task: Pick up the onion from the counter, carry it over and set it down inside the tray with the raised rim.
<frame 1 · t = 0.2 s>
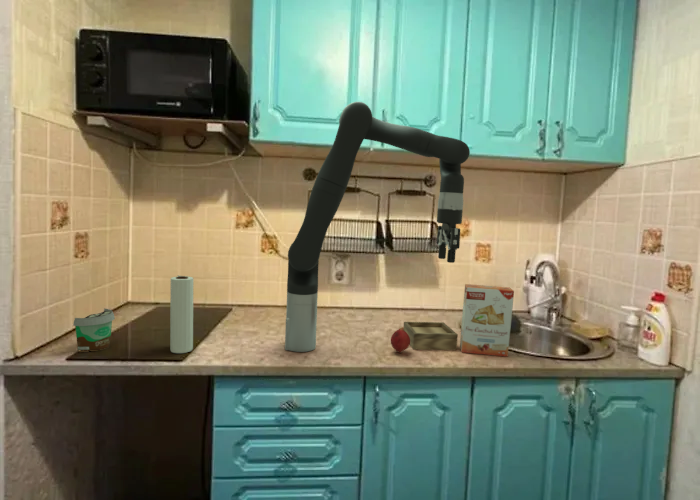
hand: (446, 260, 134), 28 cm above the worktop, tool pointing down, fingers open, 8 cm apart
cracker box: (483, 352, 135), on the worktop
onion: (399, 353, 131), on the worktop
food container: (100, 348, 124), on the worktop
tray: (428, 342, 142), on the worktop
paper towel roll: (182, 350, 125), on the worktop
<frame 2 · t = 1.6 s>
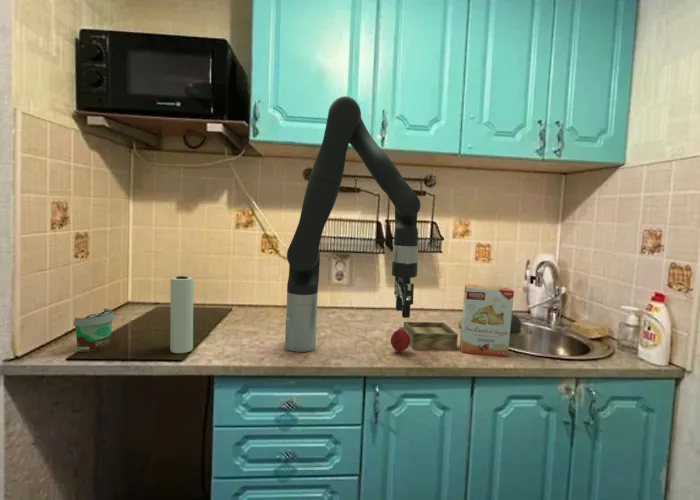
hand: (402, 313, 130), 12 cm above the worktop, tool pointing down, fingers open, 8 cm apart
nothing on the worktop moved.
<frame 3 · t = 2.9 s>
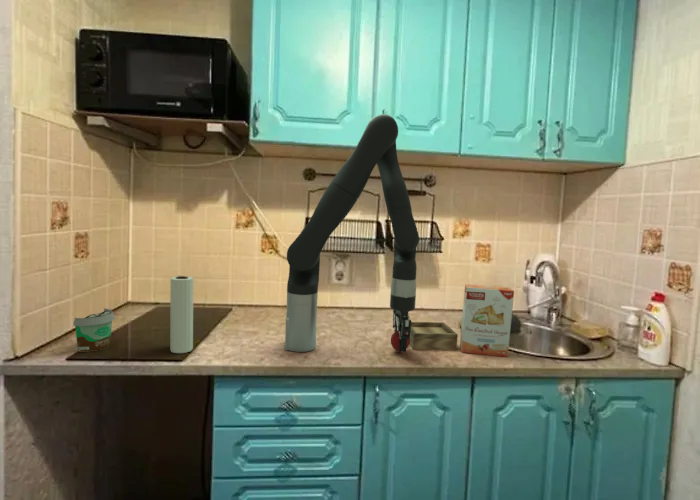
hand: (400, 347, 131), 2 cm above the worktop, tool pointing down, fingers closed on onion, 5 cm apart
onion: (399, 353, 131), on the worktop, touching gripper
everything else where it was.
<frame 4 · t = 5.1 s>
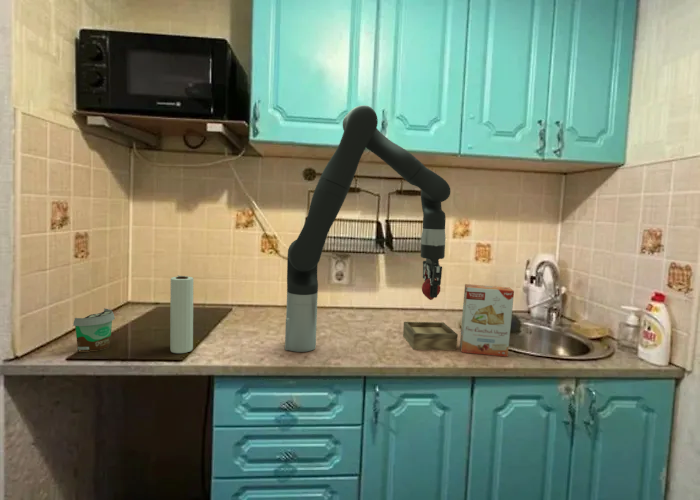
hand: (430, 295, 139), 16 cm above the worktop, tool pointing down, fingers closed on onion, 5 cm apart
onion: (430, 300, 139), point 14 cm above the worktop, touching gripper
everything else where it was.
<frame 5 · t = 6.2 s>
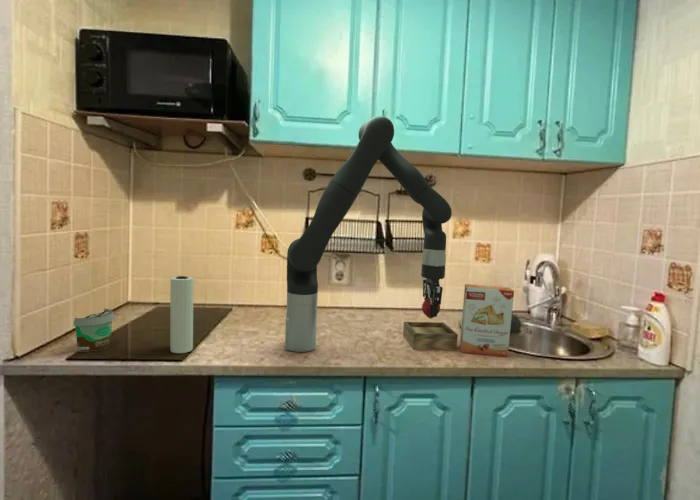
hand: (430, 313, 141), 10 cm above the worktop, tool pointing down, fingers closed on onion, 5 cm apart
onion: (430, 319, 142), point 8 cm above the worktop, touching gripper
everything else where it was.
when the fingers open (6 cm above the worktop, at t = 7.2 s): onion drops 1 cm, resting on tray.
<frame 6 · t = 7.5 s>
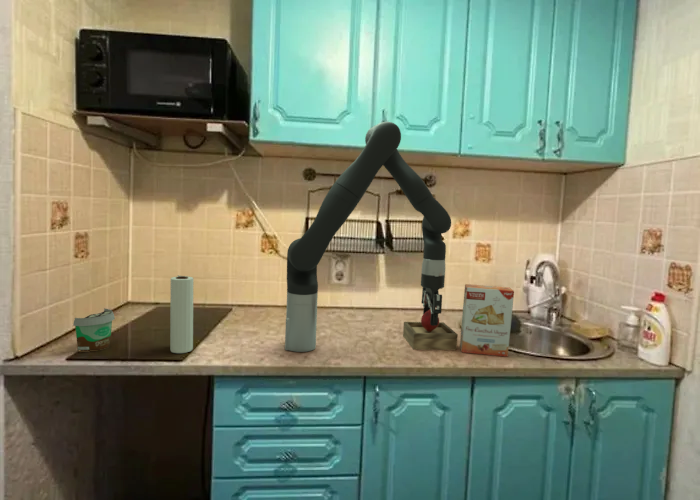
hand: (430, 321, 142), 7 cm above the worktop, tool pointing down, fingers open, 8 cm apart
onion: (429, 332, 142), point 3 cm above the worktop, touching tray
everything else where it was.
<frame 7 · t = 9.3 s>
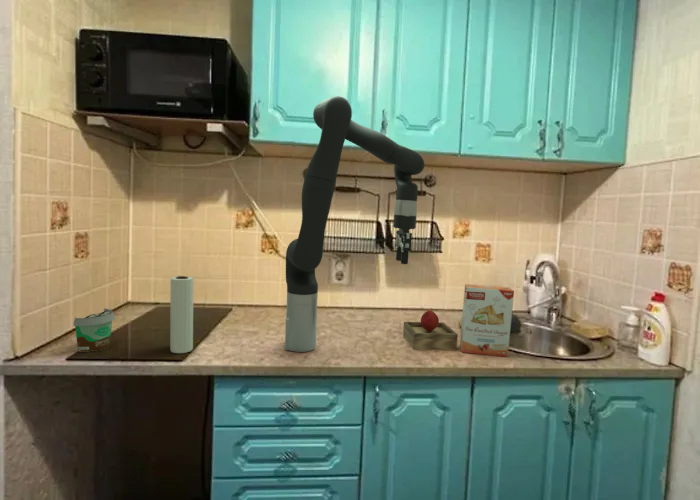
hand: (401, 262, 146), 25 cm above the worktop, tool pointing down, fingers open, 8 cm apart
nothing on the worktop moved.
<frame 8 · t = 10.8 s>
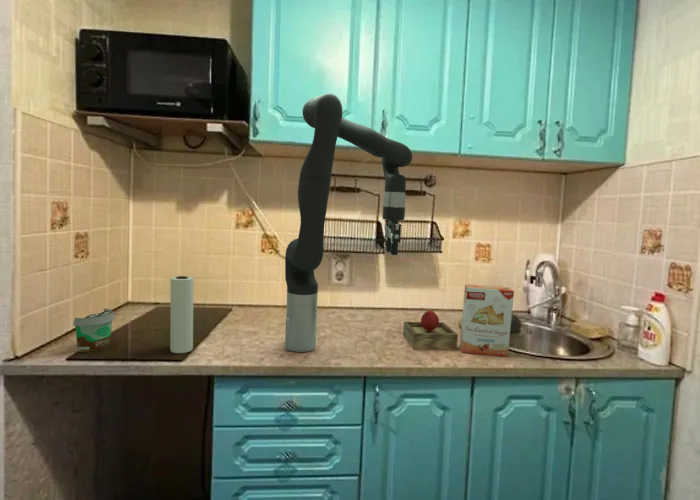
hand: (391, 253, 148), 28 cm above the worktop, tool pointing down, fingers open, 8 cm apart
nothing on the worktop moved.
at the end: onion inside the target area on the tray (0.1 cm from its centre), point 3.3 cm above the tray's base; the gripper is holding nothing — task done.
